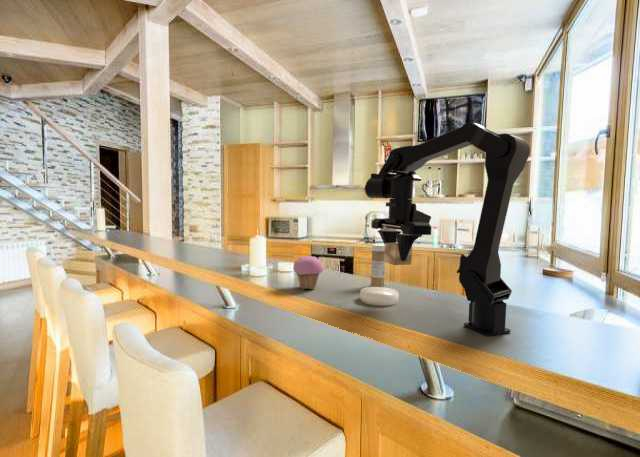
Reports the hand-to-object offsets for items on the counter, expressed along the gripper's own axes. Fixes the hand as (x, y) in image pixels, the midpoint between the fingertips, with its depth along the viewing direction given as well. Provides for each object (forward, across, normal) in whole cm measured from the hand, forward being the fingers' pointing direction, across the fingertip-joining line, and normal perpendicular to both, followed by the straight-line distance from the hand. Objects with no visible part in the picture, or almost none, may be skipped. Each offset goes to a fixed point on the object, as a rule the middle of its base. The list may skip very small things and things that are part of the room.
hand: (397, 259), depth 88 cm
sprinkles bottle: (+12, +17, -5) cm, 22 cm away
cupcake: (+12, +21, +17) cm, 30 cm away
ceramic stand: (+12, +3, +3) cm, 12 cm away
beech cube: (+1, 0, 0) cm, 1 cm away
